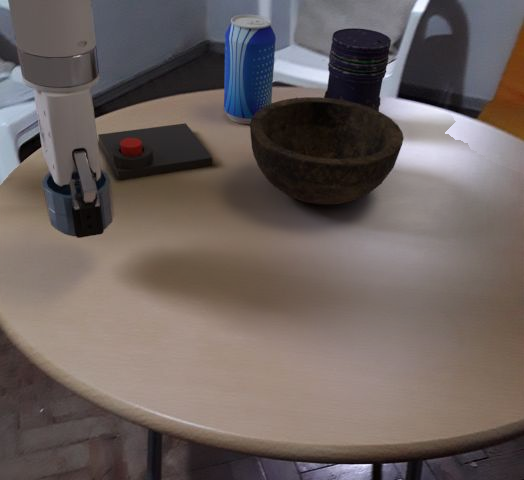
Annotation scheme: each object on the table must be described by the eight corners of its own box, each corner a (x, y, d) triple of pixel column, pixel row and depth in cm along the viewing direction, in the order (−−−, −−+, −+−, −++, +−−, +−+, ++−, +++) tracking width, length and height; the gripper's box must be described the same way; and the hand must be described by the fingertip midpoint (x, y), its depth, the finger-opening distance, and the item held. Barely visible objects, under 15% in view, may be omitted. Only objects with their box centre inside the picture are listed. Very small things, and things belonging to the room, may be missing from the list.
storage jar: (312, 129, 111) (322, 39, 101) (332, 110, 118) (344, 24, 108) (365, 143, 109) (381, 52, 98) (382, 122, 115) (399, 35, 105)
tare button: (124, 158, 94) (123, 148, 93) (118, 148, 96) (117, 139, 95) (145, 155, 95) (144, 145, 94) (139, 146, 97) (138, 136, 96)
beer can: (254, 130, 110) (259, 32, 99) (214, 117, 113) (215, 20, 102) (278, 115, 115) (286, 20, 104) (240, 102, 118) (243, 9, 107)
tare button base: (119, 180, 95) (116, 161, 93) (98, 142, 103) (96, 124, 101) (212, 165, 100) (212, 147, 98) (185, 130, 108) (185, 113, 106)
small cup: (57, 244, 72) (49, 202, 68) (45, 210, 77) (37, 169, 73) (120, 233, 74) (116, 191, 71) (105, 201, 79) (101, 161, 75)
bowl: (276, 146, 106) (280, 86, 99) (402, 176, 101) (417, 115, 94) (224, 208, 91) (225, 142, 84) (370, 245, 86) (384, 179, 79)
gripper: (7, 36, 67) (36, 184, 79) (35, 103, 56) (64, 263, 68) (78, 31, 69) (96, 176, 82) (119, 95, 58) (132, 251, 71)
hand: (81, 215), depth 75 cm, fingers closed on small cup, 7 cm apart
